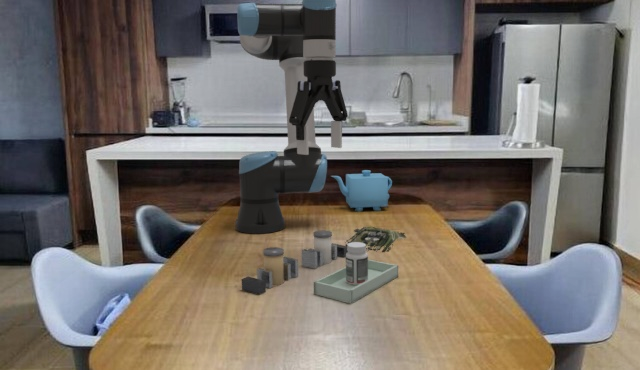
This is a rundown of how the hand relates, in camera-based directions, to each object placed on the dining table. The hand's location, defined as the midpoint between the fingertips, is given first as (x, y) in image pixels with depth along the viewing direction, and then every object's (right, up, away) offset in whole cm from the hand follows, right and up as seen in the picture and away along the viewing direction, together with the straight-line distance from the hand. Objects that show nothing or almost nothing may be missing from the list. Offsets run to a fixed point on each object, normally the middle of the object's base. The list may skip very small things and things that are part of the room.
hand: (320, 150), depth 128 cm
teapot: (+15, -17, +64) cm, 68 cm away
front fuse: (-10, -30, -10) cm, 33 cm away
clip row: (-5, -28, -3) cm, 29 cm away
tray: (+8, -30, -12) cm, 33 cm away
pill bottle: (+8, -29, -12) cm, 33 cm away
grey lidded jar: (+1, -27, +4) cm, 27 cm away
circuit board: (+15, -24, +23) cm, 37 cm away
